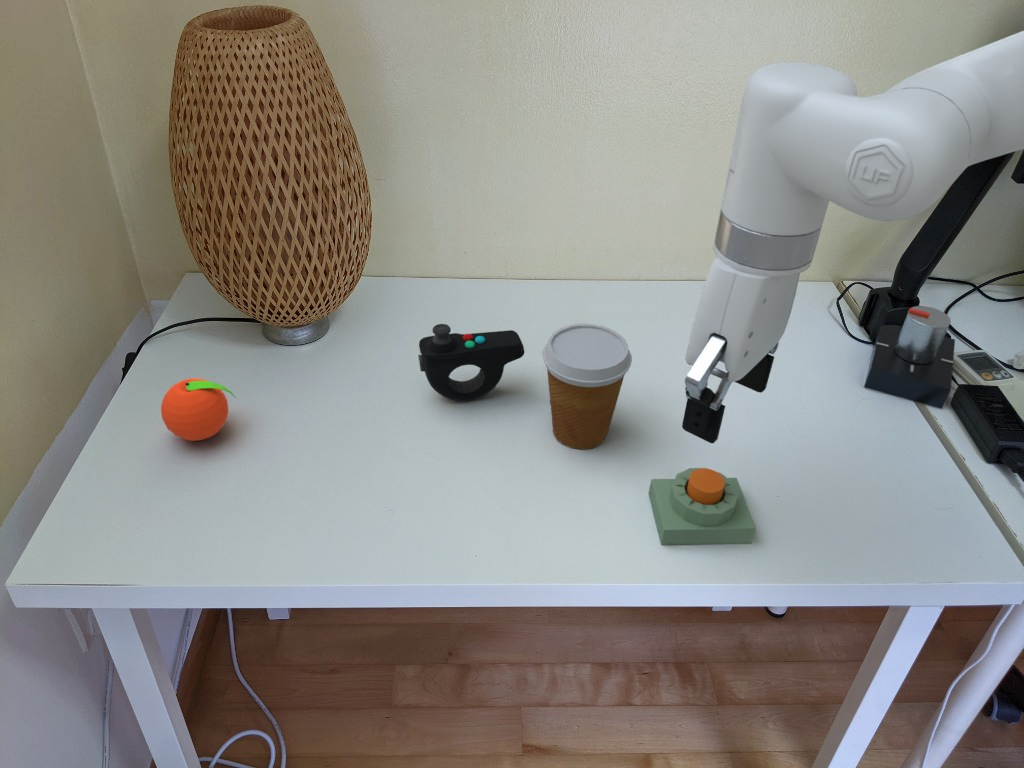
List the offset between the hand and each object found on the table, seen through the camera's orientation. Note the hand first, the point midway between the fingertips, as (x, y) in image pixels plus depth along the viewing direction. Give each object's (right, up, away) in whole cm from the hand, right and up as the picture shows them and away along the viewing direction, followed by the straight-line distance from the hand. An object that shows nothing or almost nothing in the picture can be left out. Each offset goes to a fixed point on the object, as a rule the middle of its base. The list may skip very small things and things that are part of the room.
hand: (724, 409), depth 70 cm
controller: (-24, +1, +24) cm, 34 cm away
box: (0, -11, +9) cm, 14 cm away
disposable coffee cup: (-11, -3, +19) cm, 23 cm away
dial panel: (+31, +4, +29) cm, 43 cm away
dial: (+31, +6, +27) cm, 42 cm away
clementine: (-54, -3, +18) cm, 57 cm away
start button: (0, -8, +6) cm, 11 cm away
